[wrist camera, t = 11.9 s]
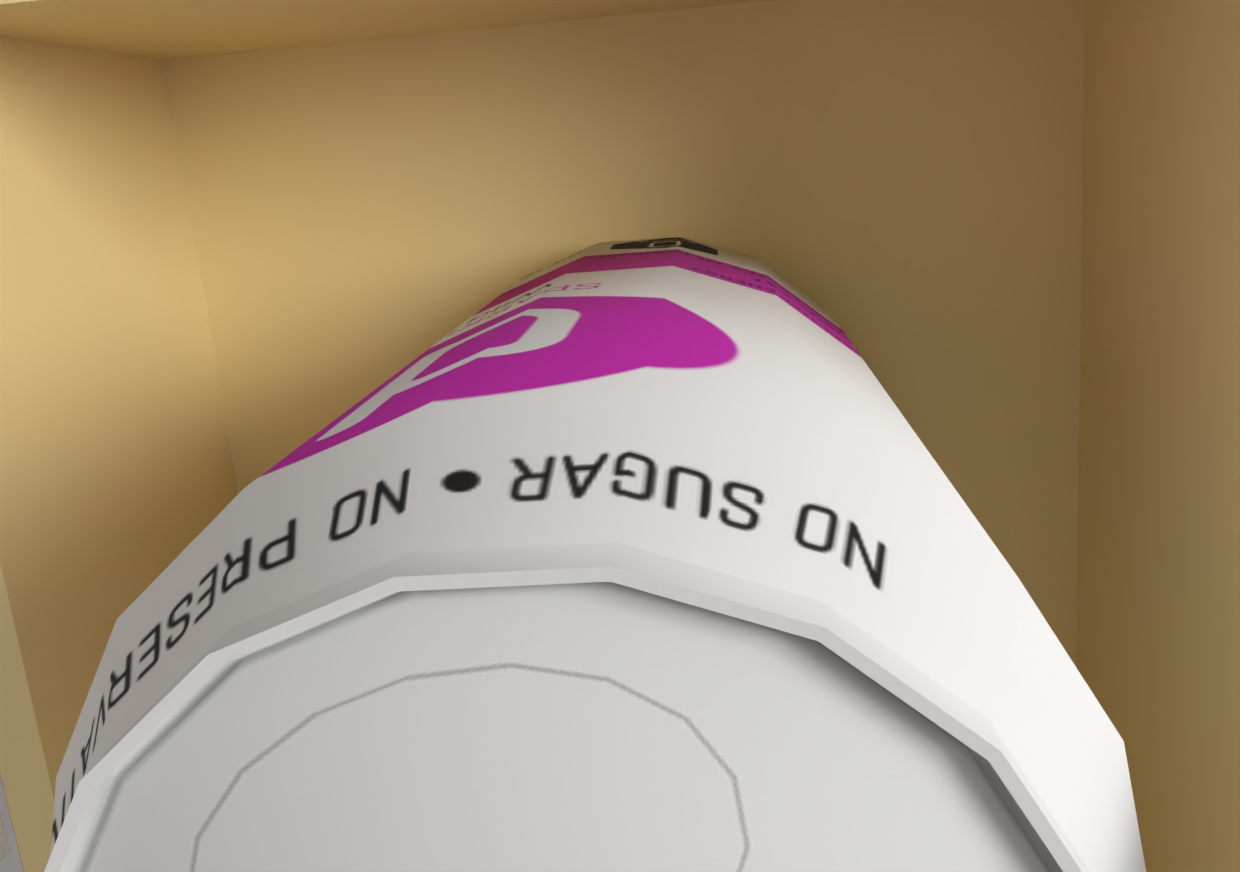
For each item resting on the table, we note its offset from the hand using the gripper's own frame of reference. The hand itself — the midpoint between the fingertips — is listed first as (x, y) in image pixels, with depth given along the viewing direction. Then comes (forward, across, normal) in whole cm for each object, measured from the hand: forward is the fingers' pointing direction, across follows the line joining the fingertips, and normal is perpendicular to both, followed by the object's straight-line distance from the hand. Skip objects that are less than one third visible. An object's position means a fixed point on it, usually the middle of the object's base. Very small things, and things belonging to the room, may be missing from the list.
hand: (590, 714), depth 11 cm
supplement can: (+11, 0, 0) cm, 11 cm away
